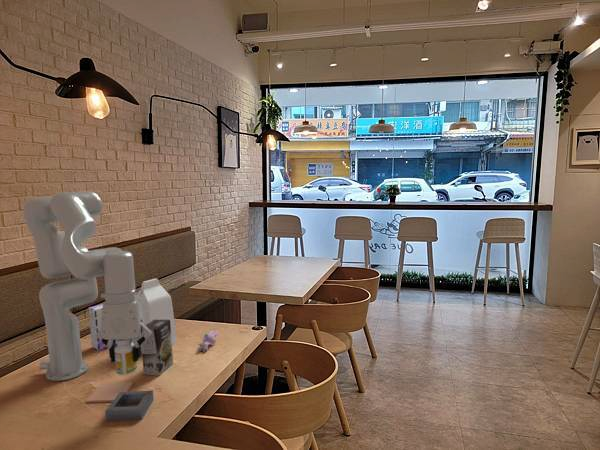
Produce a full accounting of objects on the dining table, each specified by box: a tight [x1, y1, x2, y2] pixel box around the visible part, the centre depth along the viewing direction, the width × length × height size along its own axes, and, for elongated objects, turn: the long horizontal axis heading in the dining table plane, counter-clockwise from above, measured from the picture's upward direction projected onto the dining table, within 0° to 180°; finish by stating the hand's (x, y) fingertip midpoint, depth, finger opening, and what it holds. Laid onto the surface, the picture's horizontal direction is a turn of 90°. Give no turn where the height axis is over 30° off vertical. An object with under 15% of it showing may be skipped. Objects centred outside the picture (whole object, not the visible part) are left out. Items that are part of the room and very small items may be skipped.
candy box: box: [88, 303, 117, 352], centre depth 163 cm, size 14×6×16 cm, turn 141°
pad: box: [85, 381, 134, 404], centre depth 126 cm, size 10×10×1 cm
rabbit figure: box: [196, 330, 219, 354], centre depth 159 cm, size 6×6×15 cm
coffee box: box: [141, 320, 174, 376], centre depth 140 cm, size 9×6×16 cm
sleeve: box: [104, 390, 154, 422], centre depth 116 cm, size 10×10×3 cm
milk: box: [136, 277, 178, 351], centre depth 160 cm, size 12×12×26 cm
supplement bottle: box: [114, 339, 138, 376], centre depth 114 cm, size 5×5×10 cm
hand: (125, 359), depth 114 cm, fingers closed on supplement bottle, 5 cm apart
